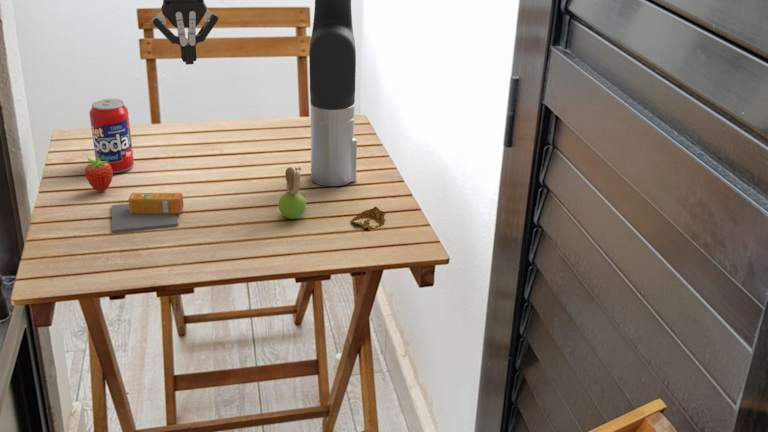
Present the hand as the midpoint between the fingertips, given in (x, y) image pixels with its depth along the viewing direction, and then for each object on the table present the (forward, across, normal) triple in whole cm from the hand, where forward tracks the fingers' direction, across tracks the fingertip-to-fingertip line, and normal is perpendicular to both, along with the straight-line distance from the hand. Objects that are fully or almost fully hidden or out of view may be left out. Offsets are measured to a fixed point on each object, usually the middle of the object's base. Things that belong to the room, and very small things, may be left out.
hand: (189, 63), depth 165 cm
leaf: (+28, -30, +26) cm, 48 cm away
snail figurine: (+27, -16, +20) cm, 37 cm away
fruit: (+26, +20, -2) cm, 33 cm away
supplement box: (+24, +5, +12) cm, 28 cm away
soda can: (+26, +17, -13) cm, 34 cm away
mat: (+26, +12, +12) cm, 31 cm away
